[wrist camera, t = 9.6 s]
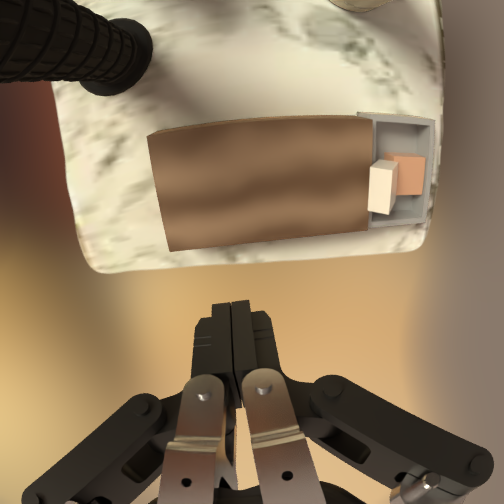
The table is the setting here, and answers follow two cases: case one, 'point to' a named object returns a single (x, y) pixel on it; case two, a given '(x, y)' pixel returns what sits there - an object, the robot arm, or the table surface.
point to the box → (403, 141)
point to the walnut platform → (262, 179)
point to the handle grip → (71, 46)
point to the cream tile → (382, 186)
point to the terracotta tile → (408, 172)
